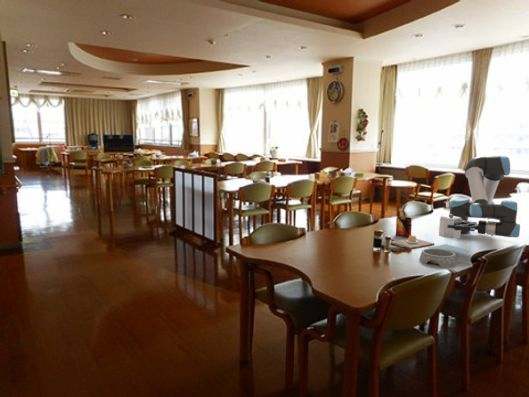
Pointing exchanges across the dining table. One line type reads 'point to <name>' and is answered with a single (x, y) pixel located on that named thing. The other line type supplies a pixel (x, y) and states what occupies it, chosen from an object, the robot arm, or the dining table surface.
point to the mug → (403, 226)
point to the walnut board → (413, 246)
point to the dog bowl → (438, 257)
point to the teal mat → (450, 248)
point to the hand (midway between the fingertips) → (443, 223)
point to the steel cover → (446, 231)
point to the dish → (412, 240)
